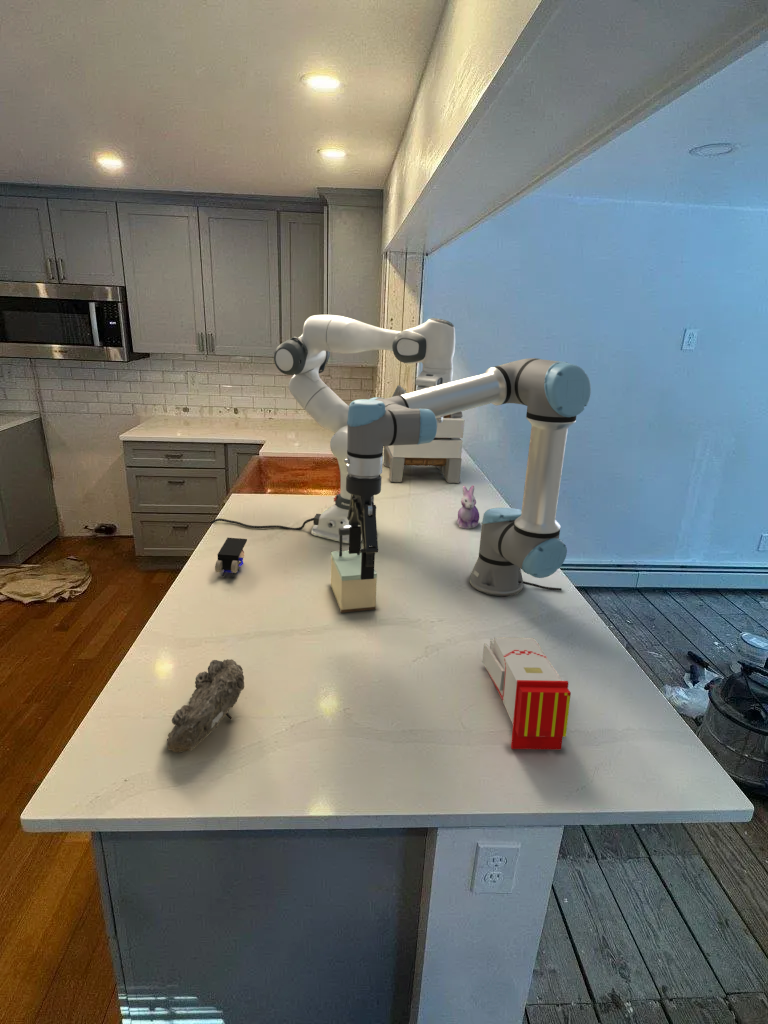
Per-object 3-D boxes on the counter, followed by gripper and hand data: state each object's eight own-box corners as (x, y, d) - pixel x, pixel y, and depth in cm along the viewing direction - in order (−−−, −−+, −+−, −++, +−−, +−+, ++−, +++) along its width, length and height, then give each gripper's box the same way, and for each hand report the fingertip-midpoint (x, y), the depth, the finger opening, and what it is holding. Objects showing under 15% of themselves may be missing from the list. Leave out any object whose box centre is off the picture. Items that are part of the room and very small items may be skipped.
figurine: (465, 531, 205) (469, 491, 200) (449, 521, 213) (452, 483, 208) (486, 527, 209) (490, 488, 204) (470, 518, 217) (473, 481, 212)
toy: (531, 620, 128) (580, 688, 99) (526, 675, 131) (572, 757, 101) (478, 619, 128) (511, 687, 98) (474, 674, 130) (505, 756, 101)
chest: (330, 585, 161) (331, 556, 158) (362, 583, 163) (363, 554, 160) (341, 612, 147) (341, 581, 144) (375, 609, 149) (376, 578, 146)
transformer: (382, 463, 289) (386, 382, 275) (445, 464, 293) (451, 384, 279) (390, 482, 257) (394, 392, 243) (460, 483, 261) (468, 394, 247)
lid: (330, 555, 158) (331, 524, 155) (363, 553, 160) (364, 522, 157) (341, 581, 144) (342, 547, 141) (376, 578, 146) (378, 544, 143)
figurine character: (238, 584, 162) (249, 557, 175) (236, 562, 158) (247, 536, 172) (215, 584, 161) (227, 556, 175) (212, 561, 158) (225, 535, 171)
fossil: (192, 660, 117) (244, 628, 112) (224, 691, 120) (276, 661, 115) (142, 746, 98) (202, 712, 93) (182, 779, 101) (242, 748, 96)
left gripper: (440, 373, 175) (436, 418, 179) (412, 379, 157) (409, 428, 162) (459, 375, 172) (455, 421, 177) (433, 381, 155) (430, 431, 159)
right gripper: (336, 459, 131) (334, 544, 138) (358, 492, 108) (355, 592, 115) (368, 459, 132) (364, 542, 140) (396, 491, 110) (390, 589, 117)
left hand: (433, 424), depth 169 cm, fingers open, 8 cm apart
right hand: (360, 565), depth 127 cm, fingers open, 13 cm apart
